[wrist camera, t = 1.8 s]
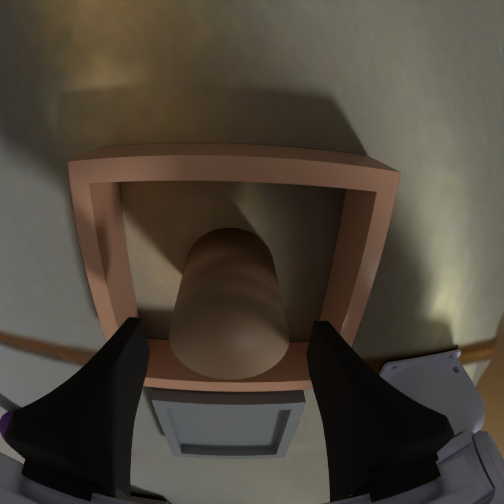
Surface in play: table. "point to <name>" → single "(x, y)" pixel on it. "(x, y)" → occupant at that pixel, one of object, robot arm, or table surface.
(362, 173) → the holder
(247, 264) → the brown rounded cylinder
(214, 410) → the tray
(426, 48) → the table surface
